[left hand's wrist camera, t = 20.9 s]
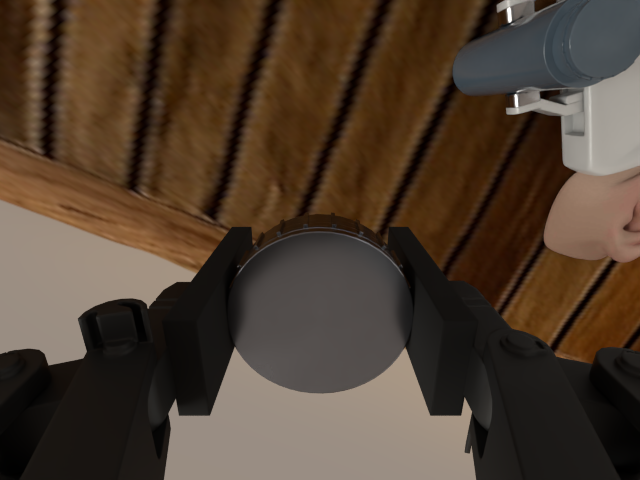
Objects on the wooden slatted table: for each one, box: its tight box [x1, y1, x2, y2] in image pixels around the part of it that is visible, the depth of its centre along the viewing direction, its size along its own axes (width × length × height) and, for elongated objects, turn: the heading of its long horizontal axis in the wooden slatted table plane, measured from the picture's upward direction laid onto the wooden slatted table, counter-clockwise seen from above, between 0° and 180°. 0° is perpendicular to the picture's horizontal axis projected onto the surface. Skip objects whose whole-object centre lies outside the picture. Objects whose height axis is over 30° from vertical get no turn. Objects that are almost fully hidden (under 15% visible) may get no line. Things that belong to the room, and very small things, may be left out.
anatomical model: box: [544, 166, 640, 262], centre depth 34 cm, size 13×4×12 cm
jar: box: [453, 0, 640, 96], centre depth 24 cm, size 5×5×15 cm
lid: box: [226, 213, 414, 393], centre depth 11 cm, size 6×6×2 cm
